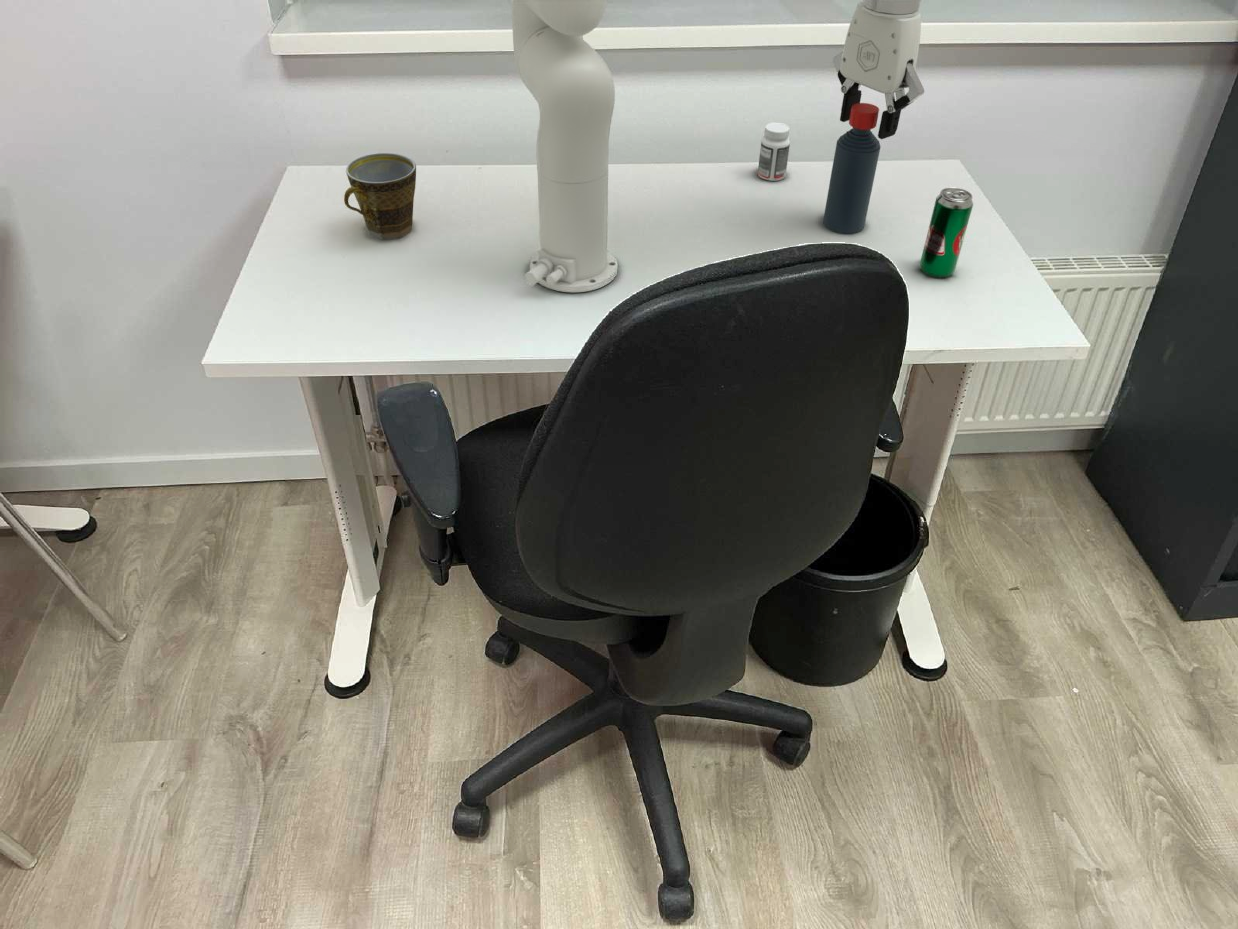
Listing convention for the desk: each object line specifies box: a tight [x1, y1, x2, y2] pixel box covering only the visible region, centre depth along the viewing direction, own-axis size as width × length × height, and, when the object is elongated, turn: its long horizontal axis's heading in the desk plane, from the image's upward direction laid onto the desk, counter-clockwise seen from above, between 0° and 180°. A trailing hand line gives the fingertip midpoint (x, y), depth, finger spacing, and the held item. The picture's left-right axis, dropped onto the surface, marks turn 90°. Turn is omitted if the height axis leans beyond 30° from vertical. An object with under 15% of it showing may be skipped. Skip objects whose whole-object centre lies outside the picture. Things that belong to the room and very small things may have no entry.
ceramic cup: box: [343, 152, 417, 241], centre depth 147 cm, size 13×10×10 cm
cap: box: [848, 102, 880, 130], centre depth 144 cm, size 4×4×2 cm
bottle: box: [822, 127, 882, 235], centre depth 149 cm, size 6×6×18 cm
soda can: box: [919, 187, 974, 279], centre depth 141 cm, size 5×5×12 cm
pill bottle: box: [757, 122, 791, 182], centre depth 165 cm, size 5×5×8 cm
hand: (867, 126), depth 145 cm, fingers open, 6 cm apart
